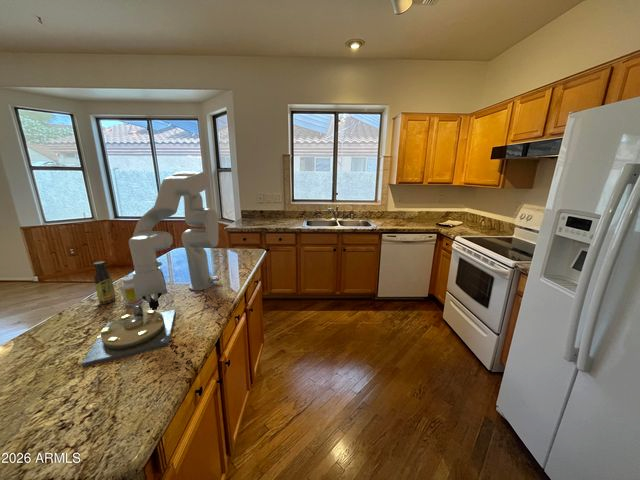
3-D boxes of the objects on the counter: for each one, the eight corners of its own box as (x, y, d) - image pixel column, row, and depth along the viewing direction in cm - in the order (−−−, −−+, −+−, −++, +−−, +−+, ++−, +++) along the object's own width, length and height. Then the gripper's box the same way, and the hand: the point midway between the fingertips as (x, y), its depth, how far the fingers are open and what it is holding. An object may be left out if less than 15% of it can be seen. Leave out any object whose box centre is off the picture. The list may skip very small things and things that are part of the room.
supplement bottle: (146, 301, 121) (140, 276, 117) (131, 307, 115) (125, 282, 111) (137, 298, 123) (132, 274, 120) (122, 304, 118) (116, 279, 114)
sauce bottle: (106, 305, 117) (96, 265, 112) (96, 304, 118) (85, 264, 113) (120, 298, 123) (110, 260, 118) (109, 297, 124) (100, 260, 119)
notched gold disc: (167, 313, 107) (164, 299, 105) (160, 339, 90) (157, 323, 88) (112, 324, 99) (108, 309, 98) (93, 355, 83) (88, 337, 81)
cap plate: (175, 312, 110) (175, 309, 110) (168, 346, 89) (167, 342, 89) (107, 326, 101) (106, 322, 101) (80, 367, 80) (79, 363, 79)
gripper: (169, 261, 104) (176, 300, 109) (124, 267, 98) (134, 309, 102) (167, 267, 98) (175, 308, 103) (120, 274, 91) (131, 318, 96)
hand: (155, 308), depth 103 cm, fingers closed
